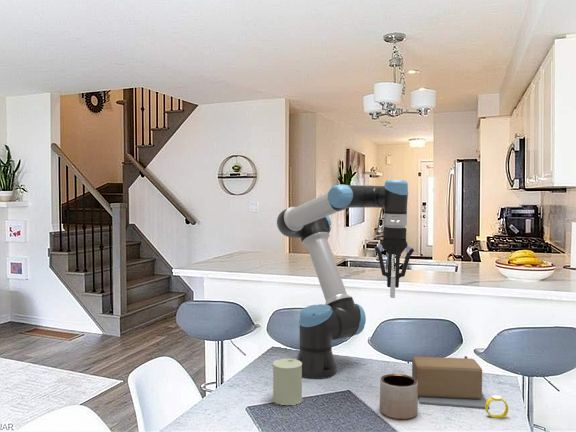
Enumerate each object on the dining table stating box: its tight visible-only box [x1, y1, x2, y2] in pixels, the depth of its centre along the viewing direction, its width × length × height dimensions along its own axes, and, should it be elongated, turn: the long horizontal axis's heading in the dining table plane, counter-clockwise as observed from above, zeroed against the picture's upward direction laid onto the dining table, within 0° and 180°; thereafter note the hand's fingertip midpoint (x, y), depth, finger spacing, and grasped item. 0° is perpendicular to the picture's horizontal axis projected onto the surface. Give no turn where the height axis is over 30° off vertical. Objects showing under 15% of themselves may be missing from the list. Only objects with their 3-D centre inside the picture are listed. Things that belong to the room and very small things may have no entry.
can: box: [272, 358, 303, 406], centre depth 152 cm, size 9×9×12 cm
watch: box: [484, 394, 509, 419], centre depth 140 cm, size 6×3×6 cm, turn 84°
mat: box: [418, 393, 490, 410], centre depth 155 cm, size 20×16×1 cm
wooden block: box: [411, 356, 483, 399], centre depth 156 cm, size 10×10×20 cm
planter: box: [379, 373, 419, 421], centre depth 143 cm, size 11×11×10 cm
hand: (392, 296), depth 163 cm, fingers closed
